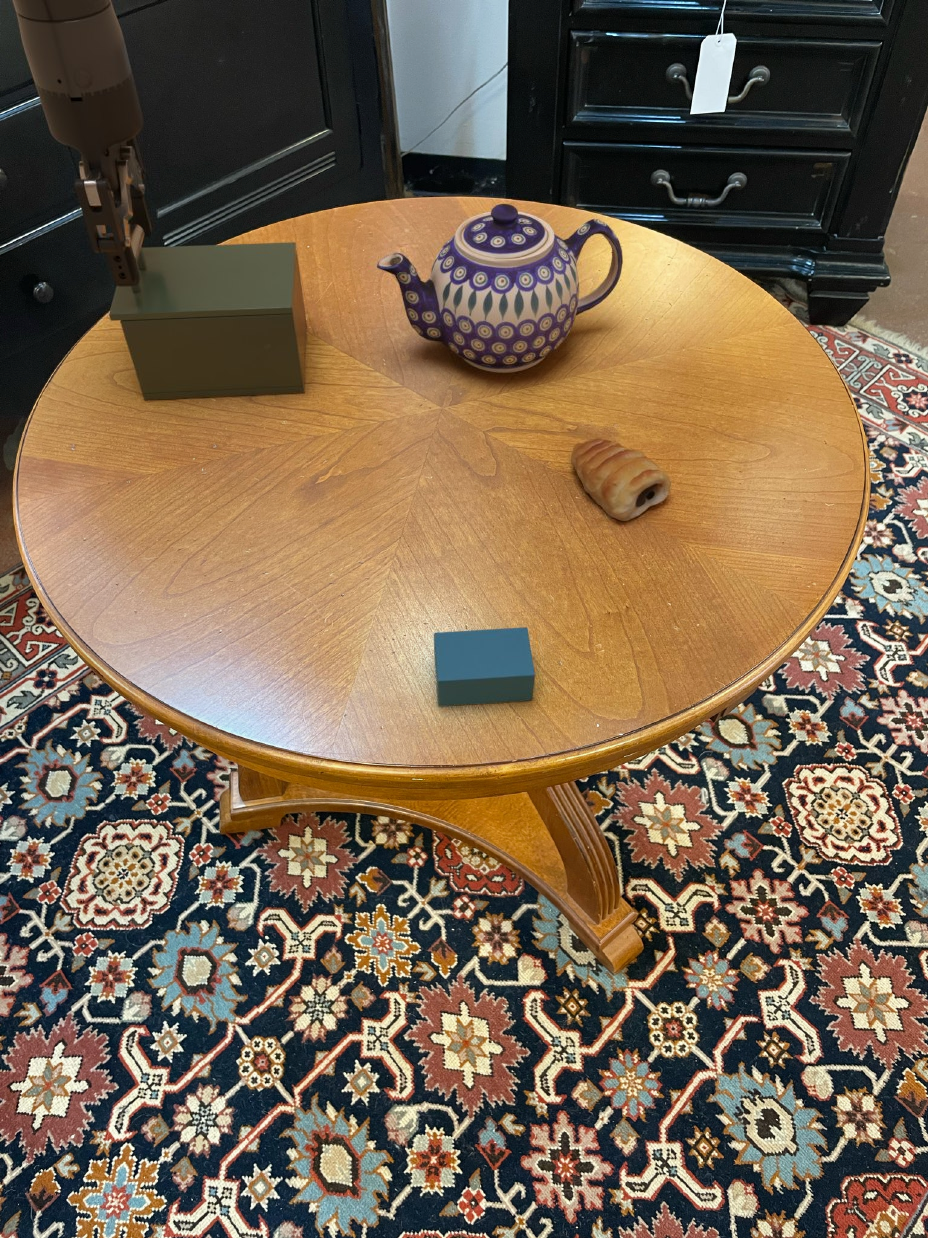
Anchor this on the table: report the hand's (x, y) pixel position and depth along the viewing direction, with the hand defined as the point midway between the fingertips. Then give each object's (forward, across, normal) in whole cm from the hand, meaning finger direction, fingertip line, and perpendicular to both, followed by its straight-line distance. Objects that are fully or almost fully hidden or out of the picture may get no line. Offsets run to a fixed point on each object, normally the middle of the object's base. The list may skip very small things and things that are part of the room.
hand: (134, 258), depth 88 cm
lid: (+3, 0, +6) cm, 7 cm away
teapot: (+12, -1, +34) cm, 36 cm away
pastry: (+12, +22, +42) cm, 49 cm away
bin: (+12, 0, +6) cm, 13 cm away
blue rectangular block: (+12, +42, +29) cm, 52 cm away
